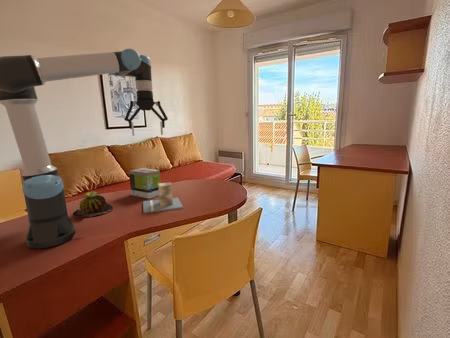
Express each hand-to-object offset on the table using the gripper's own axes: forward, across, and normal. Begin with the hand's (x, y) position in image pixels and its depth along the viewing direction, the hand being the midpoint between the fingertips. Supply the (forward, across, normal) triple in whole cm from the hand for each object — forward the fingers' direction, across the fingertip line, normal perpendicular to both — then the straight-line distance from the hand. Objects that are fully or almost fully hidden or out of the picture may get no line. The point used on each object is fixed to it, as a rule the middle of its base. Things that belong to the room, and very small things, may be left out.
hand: (147, 135), depth 121 cm
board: (+35, +4, -8) cm, 36 cm away
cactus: (+35, -28, -4) cm, 45 cm away
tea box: (+35, -3, +14) cm, 38 cm away
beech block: (+34, +6, -8) cm, 35 cm away
